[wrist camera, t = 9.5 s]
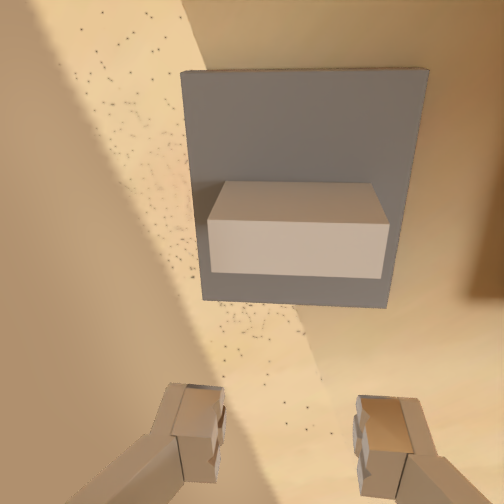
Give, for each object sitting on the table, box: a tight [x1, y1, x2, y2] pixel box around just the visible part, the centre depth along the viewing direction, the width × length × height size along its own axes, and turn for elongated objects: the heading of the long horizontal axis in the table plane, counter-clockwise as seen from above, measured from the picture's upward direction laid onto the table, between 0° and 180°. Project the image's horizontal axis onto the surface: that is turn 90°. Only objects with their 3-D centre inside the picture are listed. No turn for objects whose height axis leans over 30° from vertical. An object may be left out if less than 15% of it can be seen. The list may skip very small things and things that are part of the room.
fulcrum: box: [180, 68, 429, 309], centre depth 21 cm, size 12×14×6 cm
